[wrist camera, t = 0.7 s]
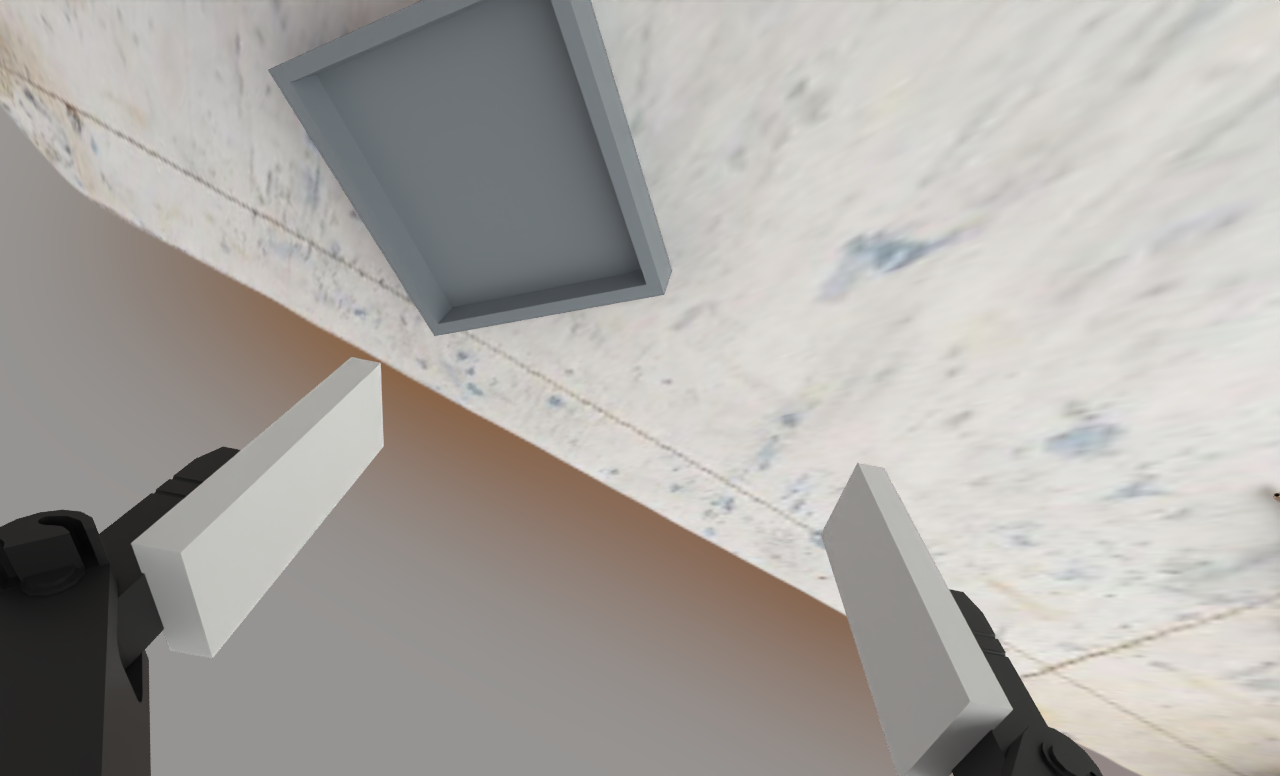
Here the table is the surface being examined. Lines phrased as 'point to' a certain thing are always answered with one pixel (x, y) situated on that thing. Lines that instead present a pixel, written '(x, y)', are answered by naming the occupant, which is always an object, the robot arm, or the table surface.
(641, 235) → the tray
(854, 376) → the table surface
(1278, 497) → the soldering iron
